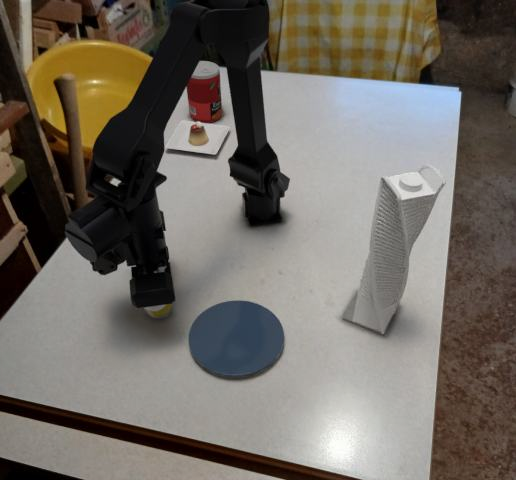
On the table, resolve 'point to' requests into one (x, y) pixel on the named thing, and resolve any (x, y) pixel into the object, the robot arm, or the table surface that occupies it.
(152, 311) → the supplement bottle
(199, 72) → the canned food
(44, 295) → the table surface
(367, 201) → the table surface
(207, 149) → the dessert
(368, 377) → the table surface
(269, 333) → the plate
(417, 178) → the skyscraper
